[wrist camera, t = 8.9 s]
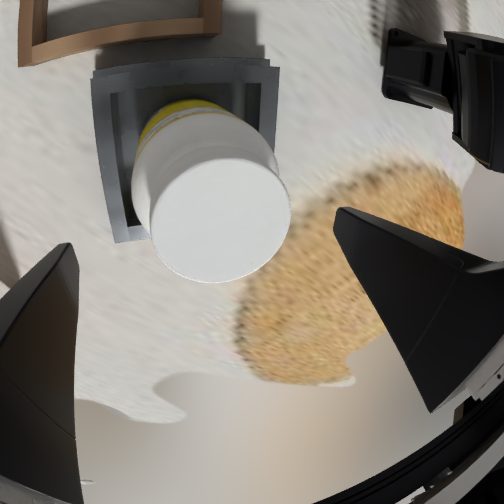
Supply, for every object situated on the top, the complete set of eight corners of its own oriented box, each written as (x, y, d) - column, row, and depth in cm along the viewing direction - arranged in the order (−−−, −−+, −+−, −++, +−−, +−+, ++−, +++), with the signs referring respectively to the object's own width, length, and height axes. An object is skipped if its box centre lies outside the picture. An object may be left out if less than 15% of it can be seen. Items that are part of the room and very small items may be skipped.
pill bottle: (231, 183, 21) (296, 289, 12) (142, 189, 19) (139, 310, 10) (238, 95, 17) (328, 137, 9) (139, 97, 15) (115, 138, 7)
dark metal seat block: (264, 59, 17) (288, 59, 14) (257, 202, 23) (275, 228, 20) (96, 70, 14) (80, 71, 11) (115, 220, 20) (109, 250, 17)
